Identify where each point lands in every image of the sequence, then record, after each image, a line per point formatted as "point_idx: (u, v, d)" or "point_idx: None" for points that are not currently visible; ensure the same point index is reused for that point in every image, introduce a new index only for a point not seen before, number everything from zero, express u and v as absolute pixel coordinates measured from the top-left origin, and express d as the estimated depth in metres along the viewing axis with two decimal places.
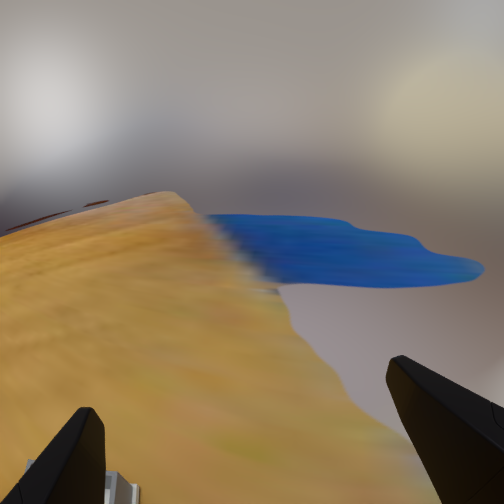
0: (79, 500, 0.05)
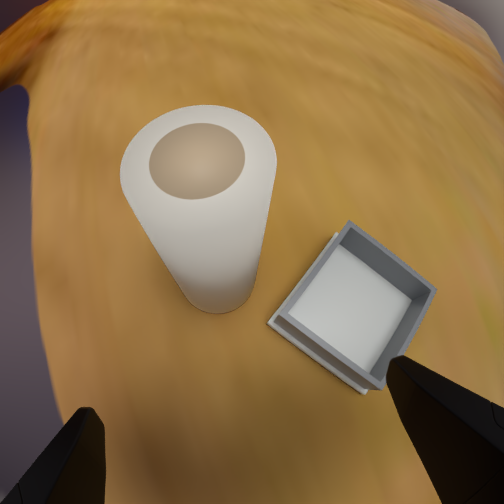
0: (79, 500, 0.05)
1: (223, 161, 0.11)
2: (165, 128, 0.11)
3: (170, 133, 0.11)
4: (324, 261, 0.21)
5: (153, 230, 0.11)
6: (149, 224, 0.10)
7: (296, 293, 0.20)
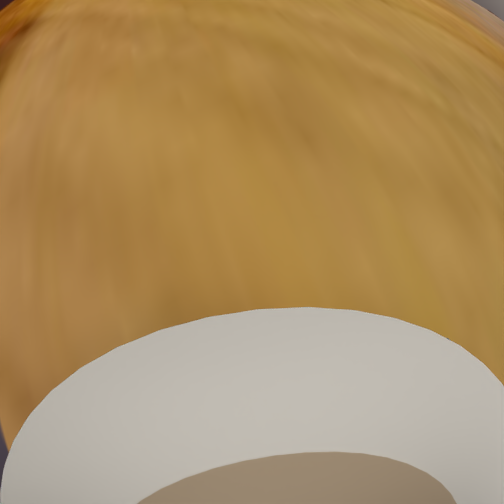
0: None
1: None
2: (117, 466, 0.02)
3: (149, 501, 0.02)
4: None
5: None
6: None
7: None
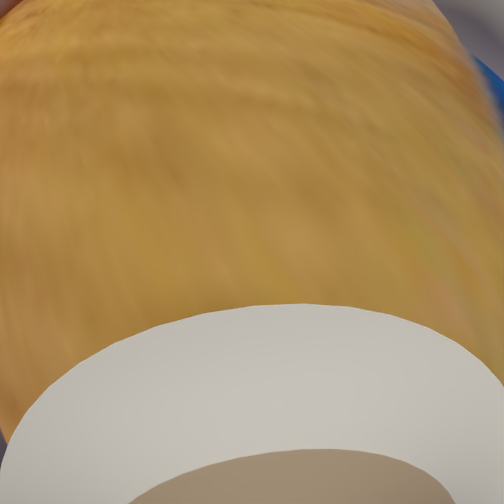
0: None
1: None
2: (113, 463, 0.02)
3: (145, 498, 0.02)
4: None
5: None
6: None
7: None
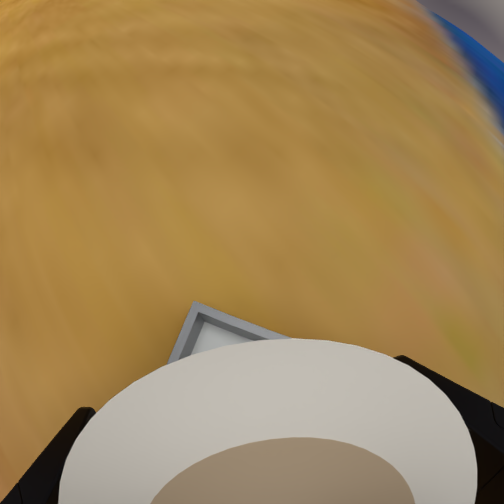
0: None
1: None
2: (161, 450, 0.03)
3: (183, 474, 0.03)
4: None
5: None
6: None
7: None
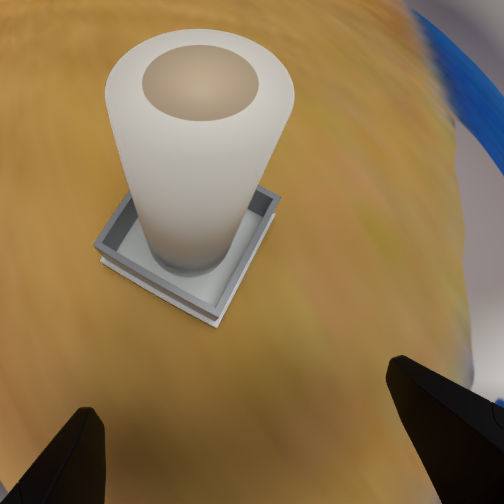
0: (79, 500, 0.05)
1: (232, 87, 0.08)
2: (169, 45, 0.08)
3: (174, 50, 0.08)
4: None
5: (133, 153, 0.08)
6: (130, 143, 0.08)
7: (109, 221, 0.18)
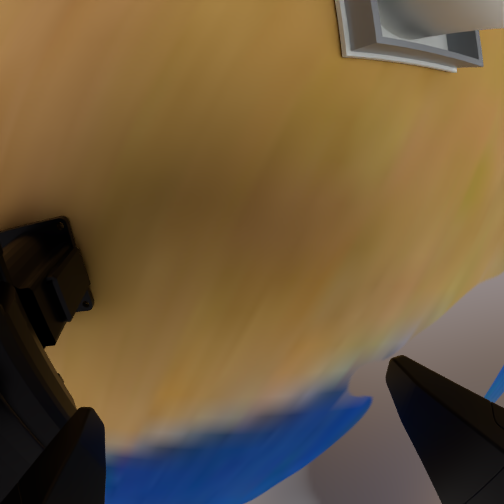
0: (79, 500, 0.05)
1: None
2: None
3: None
4: None
5: None
6: None
7: None
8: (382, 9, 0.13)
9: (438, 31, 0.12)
